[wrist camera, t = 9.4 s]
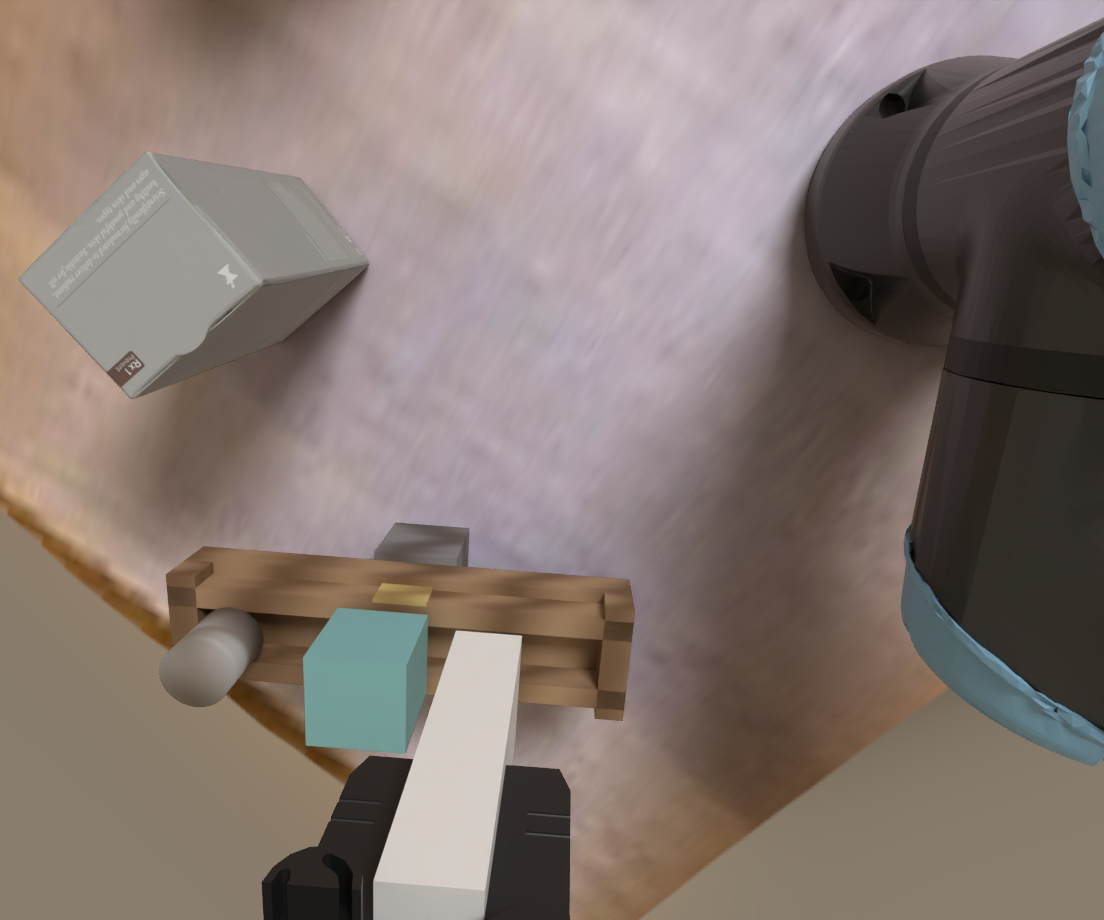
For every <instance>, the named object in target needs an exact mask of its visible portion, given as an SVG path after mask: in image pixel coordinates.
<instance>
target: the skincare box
mask: <svg viewBox="0 0 1104 920" xmlns="http://www.w3.org/2000/svg"><path fill="white" fill-rule="evenodd" d="M368 265H369V262H368V260H367V259H366V258H365V257H364V255H363V254H362V253H361V252H360V251H359V249H358V248H357V247H356V246H355V244H354V243H353V242H352V241H351V239H350V238H349V237H348V236H347V234H346V233H345V232H344V231H343V229H342V228H341V227H340V226H339V225H338V223H337V222H336V221H335V220H334V218H333V217H332V216H331V215H330V213H329V212H328V211H327V210H326V208H325V207H324V206H323V205H322V203H321V202H320V201H319V200H318V199H317V197H316V196H315V195H314V194H313V192H312V191H311V190H310V189H309V188H308V186H307V185H306V184H305V183H304V181H303V180H302V179H301V178H299V177H294V176H288V175H282V174H275V173H269V172H264V171H258V170H251V169H245V168H239V167H233V166H227V165H221V164H215V163H210V162H204V161H198V160H192V159H185V158H179V157H173V156H167V155H162V154H156V153H151V152H146V153H145V154H144V155H143V156H142V157H141V158H140V159H139V160H138V161H137V162H136V163H135V164H134V165H132V166H131V167H130V168H129V169H128V170H127V171H126V172H125V173H124V174H123V175H122V176H121V177H120V178H119V179H118V180H117V181H116V182H115V183H114V184H112V185H111V186H110V187H109V188H108V189H107V190H106V191H105V192H104V193H103V194H102V195H101V196H100V197H99V198H98V199H97V200H96V201H95V202H94V203H93V204H92V205H91V206H90V207H89V208H88V209H87V210H86V211H85V212H83V213H82V214H81V215H80V216H79V217H78V218H77V219H76V220H75V221H74V222H73V223H72V224H71V225H70V226H69V227H68V228H67V229H66V230H65V231H64V232H63V233H62V234H61V235H60V236H59V237H58V238H57V239H56V240H55V241H54V243H53V244H52V245H51V246H50V247H49V248H48V249H47V250H46V251H45V252H44V253H43V254H42V255H41V256H40V257H39V258H38V259H37V260H36V261H35V262H34V263H33V264H32V265H31V266H30V267H29V268H28V269H27V270H26V271H25V272H24V273H23V274H22V275H21V276H20V277H19V281H20V282H21V283H22V284H23V286H24V287H25V288H26V289H27V290H28V291H29V292H30V293H31V294H32V295H33V296H34V297H35V298H36V299H37V300H38V301H39V302H40V303H41V304H42V305H43V306H44V307H45V308H46V309H47V310H48V312H49V313H50V314H51V315H52V316H53V317H54V318H55V319H56V320H57V321H58V322H59V323H60V324H61V325H62V326H63V327H64V329H65V330H66V331H67V332H68V333H69V334H70V335H71V336H72V337H73V338H74V339H75V340H76V341H77V342H78V343H79V344H80V346H81V347H82V348H83V349H84V350H85V351H86V352H87V353H88V354H89V355H90V356H91V357H92V358H93V359H94V360H95V361H96V362H97V364H98V365H99V366H100V367H101V368H102V369H103V370H104V371H105V372H106V373H107V374H108V375H109V376H110V377H111V378H112V379H113V380H114V382H115V383H116V384H117V385H118V386H119V387H120V388H121V389H122V390H123V391H124V392H125V393H126V394H127V395H128V397H130V398H131V399H134V398H137V397H140V396H143V395H146V394H148V393H151V392H153V391H156V390H159V389H161V388H164V387H166V386H169V385H171V384H174V383H176V382H179V381H182V380H184V379H187V378H189V377H192V376H194V375H197V374H199V373H201V372H203V371H206V370H209V369H212V368H214V367H217V366H220V365H222V364H225V363H227V362H230V361H232V360H235V359H238V358H240V357H243V356H245V355H248V354H250V353H253V352H256V351H258V350H261V349H263V348H266V347H269V346H271V345H274V344H277V343H281V342H282V341H283V340H284V339H286V338H287V337H288V336H289V335H290V334H291V333H292V332H294V331H295V330H296V329H297V328H298V327H299V326H301V325H302V324H303V323H304V322H305V321H306V320H307V319H309V318H310V317H311V316H312V315H313V314H314V313H315V312H317V311H318V310H319V309H320V308H321V307H322V306H323V305H325V304H326V303H327V302H328V301H329V300H330V299H331V298H333V297H334V296H335V295H336V294H337V293H338V292H339V291H341V290H342V289H343V288H344V287H345V286H346V285H347V284H348V283H350V282H351V281H352V280H353V279H354V278H355V277H356V276H357V275H359V274H360V273H361V272H362V271H363V270H364V269H365V268H366V267H367V266H368Z"/></svg>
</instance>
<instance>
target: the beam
mask: <svg viewBox="0 0 1104 920" xmlns="http://www.w3.org/2000/svg"><path fill="white" fill-rule="evenodd" d="M468 547H469V528H457V527H444V526H431V525H418V524H405V523H395V524H394V526H393V527H392V529H391V530H390V531H389V533H388V534H387V536H386V537H385V539H384V540H383V541H382V543H381V544H380V546H379V547H378V548H377V550H376V551H375V560H371V559H358V558H345V557H333V556H320V555H307V554H294V553H281V552H269V551H256V550H243V549H230V548H217V547H205V546H204V547H202V548H201V549H200V550H198V551H197V552H196V553H194V554H193V555H192V556H190V557H189V558H188V559H186V560H185V561H183V562H182V563H181V564H179V565H178V566H177V567H175V568H174V569H173V570H171V571H170V572H169V573H167V574H166V582H167V593H168V604H169V615H170V626H171V637H172V649H171V650H169V651H168V652H167V653H166V654H165V656H164V657H163V659H162V661H161V663H160V667H159V675H160V679H161V682H162V684H163V686H164V688H165V689H166V691H167V692H168V693H169V694H170V695H171V696H172V697H174V698H175V699H176V700H178V701H179V702H181V703H183V704H186V705H190V706H194V707H205V706H210V705H213V704H215V703H217V702H218V701H220V700H221V699H222V698H223V697H224V696H225V695H226V693H227V692H228V691H229V690H230V688H231V687H232V686H233V685H234V684H235V682H236V681H237V680H238V679H240V680H252V681H264V682H277V683H289V684H302V685H304V672H303V657H304V655H305V654H306V652H307V651H308V649H309V648H310V647H311V645H312V644H313V642H314V641H315V639H316V638H317V637H318V635H319V634H320V632H321V631H322V630H323V628H324V627H325V625H326V624H327V622H328V621H329V620H330V618H331V617H332V615H333V614H334V612H335V611H336V610H337V608H348V609H361V610H374V611H386V612H399V613H411V614H424V615H428V643H427V686H426V695H435V693H436V690H437V687H438V684H439V681H440V678H441V675H442V671H443V668H444V665H445V662H446V659H447V656H448V653H449V650H450V647H451V644H452V641H453V638H454V635H455V632H456V631H469V632H481V633H494V634H507V635H519V636H522V645H521V660H520V676H519V691H518V702H525V703H537V704H550V705H562V706H575V707H587V708H594V712H595V719H605V720H617V721H623V712H624V703H625V694H626V686H627V677H628V668H629V659H630V651H631V642H632V633H633V624H634V615H635V609H634V603H633V598H632V592H631V586H630V581H629V580H627V579H614V578H601V577H588V576H576V575H563V574H550V573H537V572H524V571H512V570H499V569H486V568H473V567H468Z"/></svg>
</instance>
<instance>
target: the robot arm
mask: <svg viewBox="0 0 1104 920" xmlns="http://www.w3.org/2000/svg"><path fill="white" fill-rule="evenodd" d="M805 238H806V246H807V252H808V256H809V260H810V264H811V267H812V270H813V272H814V274H815V277H816V279H817V281H818V283H819V285H820V287H821V289H822V290H823V292H824V293H825V295H826V296H827V298H828V299H829V300H830V302H831V303H832V304H833V305H834V306H835V307H836V309H837V310H838V311H840V312H841V313H842V314H843V315H844V316H845V317H846V318H847V319H849V320H850V321H851V322H853V323H854V324H856V325H857V326H859V327H861V328H862V329H864V330H866V331H868V332H870V333H873V334H875V335H878V336H881V337H884V338H887V339H891V340H896V341H900V342H905V343H910V344H916V345H927V346H939V345H948V349H947V354H946V359H945V365H944V367H943V371H942V376H941V381H940V386H939V391H938V396H937V401H936V406H935V410H934V415H933V420H932V425H931V430H930V435H929V440H928V445H927V450H926V455H925V460H924V464H923V469H922V474H921V479H920V484H919V489H918V494H917V499H916V504H915V509H914V514H913V519H912V523H911V525H910V526H909V527H908V529H907V530H906V533H905V539H904V555H905V559H906V568H905V575H904V582H903V590H902V597H901V613H902V619H903V623H904V626H905V627H906V629H907V631H908V632H909V634H910V637H911V641H912V642H913V644H914V647H915V649H916V651H917V652H918V654H919V655H920V657H921V658H922V659H923V661H924V662H925V663H926V664H927V666H928V667H929V668H930V669H931V670H932V671H933V672H934V673H935V674H936V676H937V677H938V678H939V679H941V680H942V681H943V682H944V683H945V684H946V685H947V686H948V687H949V688H950V689H951V690H952V691H954V692H955V693H956V694H957V695H958V696H960V697H961V698H962V699H963V700H965V701H966V702H967V703H969V704H970V705H971V706H973V707H974V708H976V709H977V710H978V711H980V712H981V713H983V714H984V715H986V716H988V717H989V718H990V719H992V720H993V721H995V722H997V723H998V724H1000V725H1002V726H1003V727H1005V728H1007V729H1008V730H1010V731H1012V732H1014V733H1015V734H1017V735H1019V736H1021V737H1023V738H1025V739H1027V740H1029V741H1031V742H1033V743H1035V744H1037V745H1039V746H1041V747H1043V748H1046V749H1048V750H1050V751H1052V752H1055V753H1057V754H1060V755H1062V756H1064V757H1067V758H1070V759H1073V760H1075V761H1078V762H1081V763H1084V764H1087V765H1091V766H1093V765H1096V764H1098V763H1099V762H1101V761H1102V760H1103V761H1104V18H1102V19H1100V20H1098V21H1096V22H1093V23H1091V24H1089V25H1087V26H1085V27H1083V28H1081V29H1079V30H1077V31H1075V32H1073V33H1071V34H1069V35H1067V36H1065V37H1063V38H1061V39H1059V40H1057V41H1054V42H1052V43H1050V44H1048V45H1046V46H1044V47H1042V48H1040V49H1038V50H1036V51H1034V52H1032V53H1030V54H1028V55H1026V56H1024V57H1022V58H1020V59H1016V58H1007V57H997V56H966V57H958V58H953V59H949V60H944V61H941V62H937V63H934V64H931V65H928V66H925V67H923V68H920V69H918V70H916V71H914V72H912V73H910V74H908V75H906V76H904V77H902V78H901V79H899V80H897V81H895V82H894V83H892V84H890V85H888V86H887V87H885V88H883V89H882V90H880V91H879V92H877V93H876V94H874V95H873V96H872V97H870V98H869V99H868V100H866V101H865V102H864V103H863V104H862V105H861V106H860V107H858V108H857V109H856V110H855V111H854V112H853V113H852V114H851V115H850V116H849V117H848V119H847V120H846V121H845V122H844V123H843V124H842V126H841V127H840V128H839V129H838V131H837V132H836V133H835V135H834V136H833V138H832V139H831V141H830V142H829V144H828V146H827V147H826V149H825V151H824V153H823V155H822V157H821V159H820V161H819V163H818V165H817V168H816V170H815V173H814V176H813V179H812V181H811V185H810V189H809V193H808V198H807V203H806V211H805ZM521 645H522V636H519V635H507V634H494V633H481V632H469V631H456V632H455V635H454V638H453V641H452V644H451V647H450V650H449V653H448V656H447V659H446V662H445V665H444V668H443V671H442V675H441V678H440V681H439V684H438V687H437V690H436V693H435V696H434V699H433V702H432V705H431V708H430V711H429V714H428V717H427V720H426V723H425V726H424V729H423V732H422V735H421V738H420V741H419V744H418V747H417V750H416V753H415V756H414V759H404V758H392V757H380V756H369V757H368V758H367V759H366V760H365V761H364V762H363V763H362V764H361V765H360V766H359V767H357V768H356V769H355V770H354V771H353V772H352V773H351V774H350V776H349V778H348V780H347V782H346V785H345V787H344V789H343V791H342V794H341V796H340V799H339V802H338V803H337V805H336V807H335V809H334V812H333V814H332V816H331V821H330V822H329V823H328V825H327V827H326V829H325V832H324V834H323V836H322V838H321V841H320V843H319V845H318V847H309V848H306V849H303V850H301V851H298V852H295V853H293V854H290V855H289V856H287V857H286V858H285V859H283V860H282V861H280V862H279V863H278V864H277V865H275V866H274V867H273V868H272V869H271V871H270V872H269V873H268V875H267V876H266V877H265V878H264V880H263V881H262V896H263V913H264V920H570V915H569V903H570V789H569V787H568V785H567V783H566V781H565V779H564V777H563V775H562V773H561V771H560V769H550V768H538V767H525V766H513V765H512V761H513V754H514V746H515V737H516V722H517V706H518V691H519V676H520V660H521Z"/></svg>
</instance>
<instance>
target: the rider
mask: <svg viewBox="0 0 1104 920" xmlns="http://www.w3.org/2000/svg"><path fill="white" fill-rule="evenodd" d="M427 643H428V615H424V614H411V613H399V612H386V611H374V610H361V609H348V608H337V610H336V611H335V612H334V614H333V615H332V617H331V618H330V620H329V621H328V622H327V624H326V625H325V627H324V628H323V630H322V631H321V632H320V634H319V635H318V637H317V638H316V639H315V641H314V642H313V644H312V645H311V647H310V648H309V649H308V651H307V652H306V654H305V655H304V657H303V672H304V703H305V734H306V746H318V747H330V748H342V749H355V750H367V751H379V752H391V753H404V754H405V753H406V750H407V747H408V745H409V742H410V739H411V736H412V733H413V730H414V727H415V725H416V722H417V719H418V716H419V713H420V710H421V708H422V705H423V702H424V699H425V696H426V686H427Z"/></svg>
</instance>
